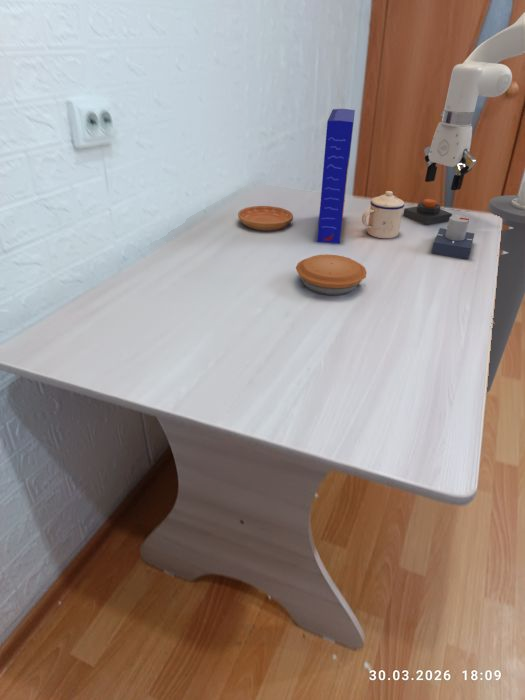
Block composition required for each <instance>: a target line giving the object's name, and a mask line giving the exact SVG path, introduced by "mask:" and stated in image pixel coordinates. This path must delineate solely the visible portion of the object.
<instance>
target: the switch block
mask: <svg viewBox="0 0 525 700" xmlns="http://www.w3.org/2000/svg"><path fill="white" fill-rule="evenodd" d="M423 203H424V201H422V202H421V201H420V202H419V203H417V206H411V207H405V208H403V213H402V216H404V217H406V218H408V219H411V220H413V221H415V222H417V223H420V224H422V225H425V226H428V225H429V226H430V225H434V224H440V223H445V222H449V218H450V217H451V216H453V213H451V212H450V211H446V210H444V209H442V208H441V207H442V206H441V204H438V203H436V205H435V207H426V206H423Z"/></svg>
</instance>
